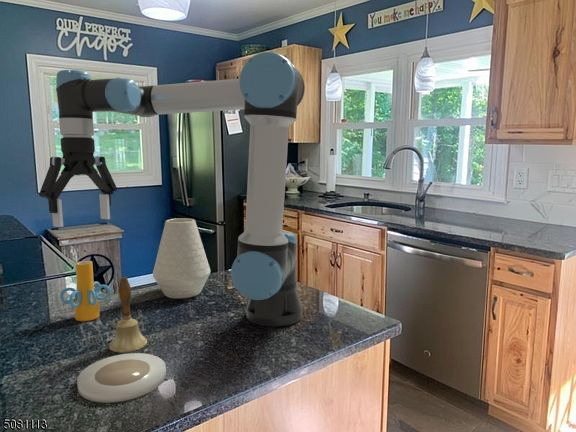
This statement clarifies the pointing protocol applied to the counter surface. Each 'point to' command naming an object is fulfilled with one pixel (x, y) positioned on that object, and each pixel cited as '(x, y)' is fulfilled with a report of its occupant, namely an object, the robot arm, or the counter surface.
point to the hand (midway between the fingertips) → (83, 222)
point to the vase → (181, 260)
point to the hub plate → (121, 377)
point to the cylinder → (85, 293)
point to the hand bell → (127, 325)
